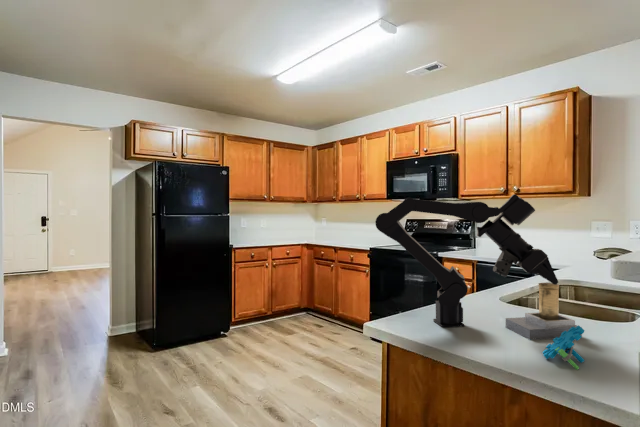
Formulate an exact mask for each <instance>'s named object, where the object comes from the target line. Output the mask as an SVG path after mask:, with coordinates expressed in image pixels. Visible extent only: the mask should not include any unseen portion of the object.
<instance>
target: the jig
mask: <svg viewBox="0 0 640 427" xmlns="http://www.w3.org/2000/svg"><path fill="white" fill-rule="evenodd" d="M577 326H578V324H576V320H575V319H572V318H570V317H567V316H565V315H562V314H559V320H548V321H546V320H544V319H541V318H539V311H538V312H525V313H524V316H523V317H506V318H505V328H506V329H507V330H511V331H512V332H514V333H515V334H518V335H519V336H522V337H524V338H525V337H526V339H527V338H528V340H529V339H534V340H550V339H552V340H553V339H554V338H556V337H558V338H559V337H560V336H561V333H562V332H564V331H567V332H568V330H569V329H570V328H571V327H575V328H576V327H577ZM580 327H581V328H582V329H583V326H580ZM581 336H582V337H583V334H581Z"/></svg>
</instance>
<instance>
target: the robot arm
mask: <svg viewBox="0 0 640 427" xmlns="http://www.w3.org/2000/svg"><path fill="white" fill-rule="evenodd" d="M411 212H417V213H426V214H436V215H442V216H443V215H444V216H450V217H451V216H452V217H455V218H459V219H463V220H465V221H470V222H472V223H476V224H482V223H484V224H483V225H482V226H476V232H477V233H476V236H477V237H479V238H481V237H482V236H483V235H486V236H487V237H488V238H489V239H491V241H492V242H493V243H494V244H496V245H497V246H498V249H499V250H500V251H501V253H499V254H500V255H499V256H498V258H497V260H496V262H495V264H494V265H493V267H492V271H493V272H494V273H496V274H498V275H500V276H502V277H505V278H507V277H508V275H509V273H510V272H509V271H510V269H511V268H512V266H513V264H514V265H516V266H517V267H519V268H521V269H523V271H524V272H526V273H527V274H536V275H538V276H540V277H541V278H543V279H545V280H547V281H548V282H549V283H553V284H554V285H556V284H558V283H559V279H558V277H557V275H556V274H555V272H554V269H553V266H552V264H551V262H550V260H549V259H550V258H549V256H548V254H547V253H546V252H544V251H543V249H540V248H534V247H533V245H532V244H530V243H528V242H527V241H526V240H525V239H524V238H523V237H521V236H522V235H520V233H518V232H516V231H515V230H514V229H513V228H512V227H511V226H514V225H517V226H520V225H521V224H522V223H524V222H525V221H526V220H527V219H528V218H529V217H530V216H531V215H532V214H533V213H535V212H536V208H534V207H533V206H532V204H530V203H529V202H528V201H526V200H524V199H523V198H521V197H520V196H518V195H517V194H516V193H514V194H512V195H511V196H510V197H509V198H508V199H507V200H506V201H505V203H503V204H502V205H501V206H500V207H498V206H494V207H492V206H489V205H488V204H486V203H485V202H482V201H471V202H470V201H469V202H468V201H467V202H446V201H435V200H427V199H419V198H418V199H417V198H413V197H406V198H405V199H404V200H403V201H402V202H400V203H399V204H397V205H396V206H395V207H393V208H392V209H391V210H388V212H383V213H380V214H379V215H378V216H377V217H376V218H375V227H376V229H377V230H378V232H381V234H383V235H385V236H387V237H388V238H390V239H392V240H393V241H395V242H397V243H398V244H399V245H400V246H402V248H403V249H404V250H406V252H408V253H409V254H410V256H412V257H413V258H414V259H415V260H416V261H417V262H418V263H419V264H421V266H423V267H424V268H425V269H426V271H428V272H429V273H430V274H431V275H432V276H433V277H434V278H435V280H436V281H437V283H438V284H439V285H440V288H439V289H438V290H437V300H435V318H433V319H432V320H433V322H435V323H436V324H437V325H438V326H441V328H446V327H447V328H453V327H465V323H463V322H464V308H463V306H462V302H461V299H463V298H464V297H465V296H467V293H468V285H467V283H466V281H465V280H466V279H465V276H464V275H463V274H461V273H460V272H458V271H457V269H456V268H455V266H453V265H452V266H451V267H449V268H448V267H446V266H445V265H443V264H442V263H440V261H438V260H437V259H436V258H435V257H434V256H433V255H432V254H431V253H430V252H428V250H426V248H424V246H422V245H421V244H420V243H419V242H418V241H417V240H416V239H415V238H414V237H413V236H411V235H410V234H409V233H408V231H407V230H406V229H405V227H404V226H403V224H402V223H401V222H400V221H401V220H403V218H405V217H406V216H407V215H409V214H410V213H411ZM494 217H496V218H494ZM489 218H494V220H492V221H491V219H489ZM502 218H503V219H504V220H505V221H506V222H507V223H508V224H510V226H509V225H508V224H507V223H506V222H505V221H504V220H503V219H502ZM487 220H488V221H487Z"/></svg>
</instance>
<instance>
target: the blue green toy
mask: <svg viewBox="0 0 640 427" xmlns="http://www.w3.org/2000/svg"><path fill="white" fill-rule="evenodd" d="M581 327H582V326H580V325H578V324H577V327H576V328H575V327H571V328H570V329H569V330H568V332H567V331H564V332H562V333H561V336H560V337H559V338H558V337H556V338H554V339H552V342H553V343H548V344H546V346H545V349H544V350H543V351H542V355H543V357H544V358H545V359H546V360H548V359H554V358H555V357H556V356H557V355H559V356H561V359H562V360H563V362H568V363H569V364H570V365H571V366H572V367H573V368H574V369H575V370H579V369H580V366H579V365H577V363H575V361H574V360H572V356H573V358H575V359H576V360H577V362H579V363H580V364H582V363H584V362H585V359H584V358H583V357H582V356H581V355H580V354H579V353H578V352H577V351H576V350H575V349H574V346H575V343H574V341H576V342H577V341H580V339H581V338H582V337H583V334H584V333H585V331H586V330H585V329H583V327H582V328H581ZM581 334H582V336H581Z"/></svg>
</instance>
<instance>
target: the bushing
mask: <svg viewBox="0 0 640 427" xmlns="http://www.w3.org/2000/svg"><path fill="white" fill-rule="evenodd" d="M559 289H560V285H559V284H558V283H557V284H556V285H554V284H553V283H551V282H539V283H538V312H539V318H541V319H544V320H546V321H548V320H559V315H560V312H559V311H560V310H559V308H560V306H559V303H560V302H559V298H560V297H559V293H560V292H559Z"/></svg>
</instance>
